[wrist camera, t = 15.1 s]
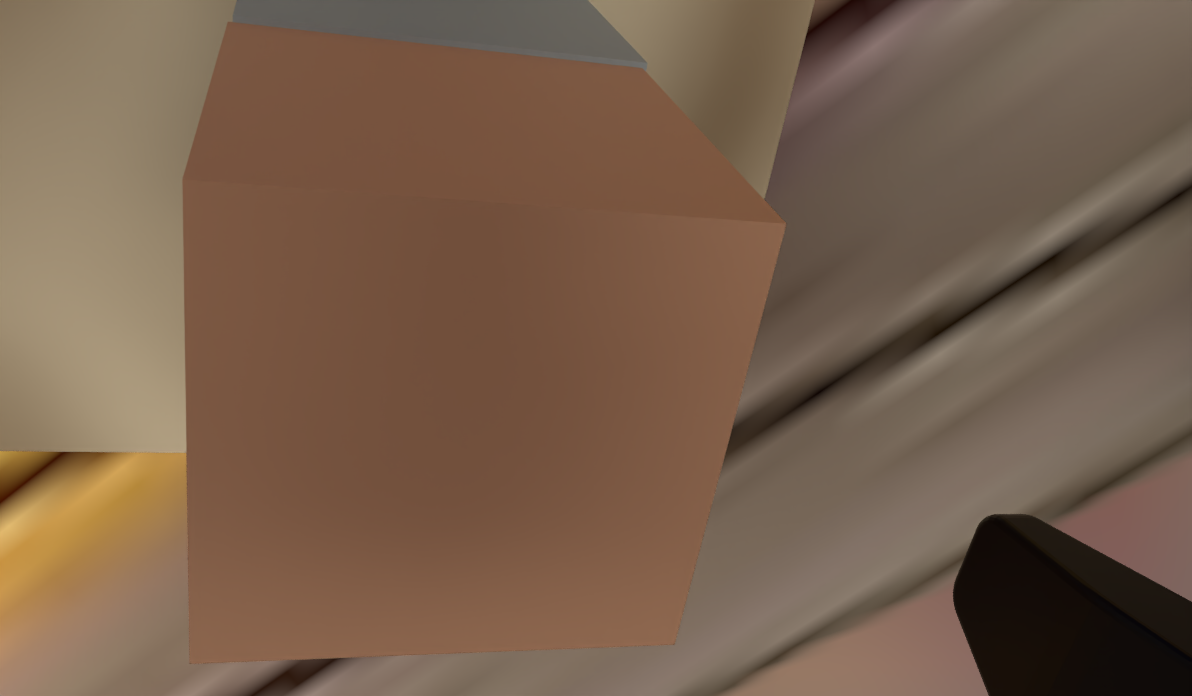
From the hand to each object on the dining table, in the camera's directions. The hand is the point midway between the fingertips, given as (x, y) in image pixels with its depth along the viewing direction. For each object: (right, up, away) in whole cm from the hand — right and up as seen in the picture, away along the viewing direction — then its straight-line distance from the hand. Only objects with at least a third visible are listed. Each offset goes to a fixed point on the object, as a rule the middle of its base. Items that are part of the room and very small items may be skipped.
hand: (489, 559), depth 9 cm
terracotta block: (-1, +3, +6) cm, 7 cm away
